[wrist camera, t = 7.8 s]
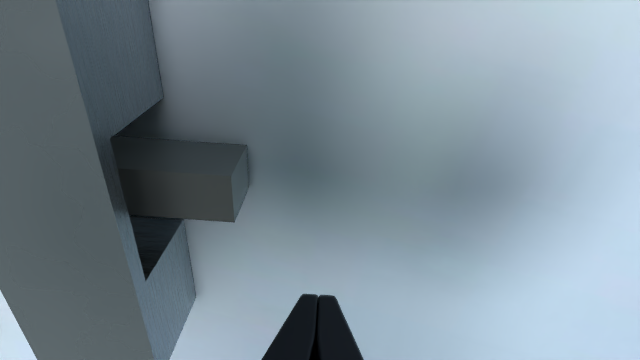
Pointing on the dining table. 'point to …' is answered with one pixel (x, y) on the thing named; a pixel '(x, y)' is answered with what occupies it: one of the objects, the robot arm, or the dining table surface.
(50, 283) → the grey notched block
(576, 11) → the dining table surface
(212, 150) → the tan block with bar
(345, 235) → the dining table surface
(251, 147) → the dining table surface
